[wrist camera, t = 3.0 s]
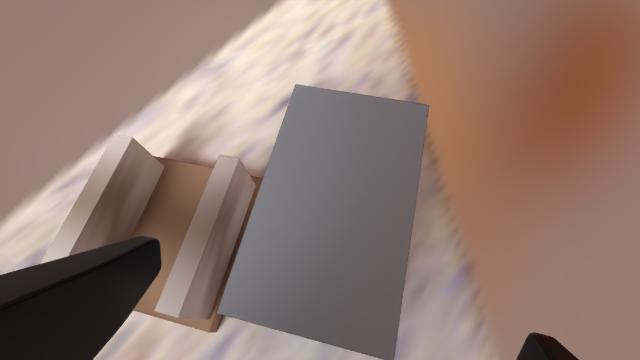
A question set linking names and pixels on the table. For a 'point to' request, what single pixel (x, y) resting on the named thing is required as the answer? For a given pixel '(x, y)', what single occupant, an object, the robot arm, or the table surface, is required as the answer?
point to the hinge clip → (166, 224)
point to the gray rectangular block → (333, 222)
